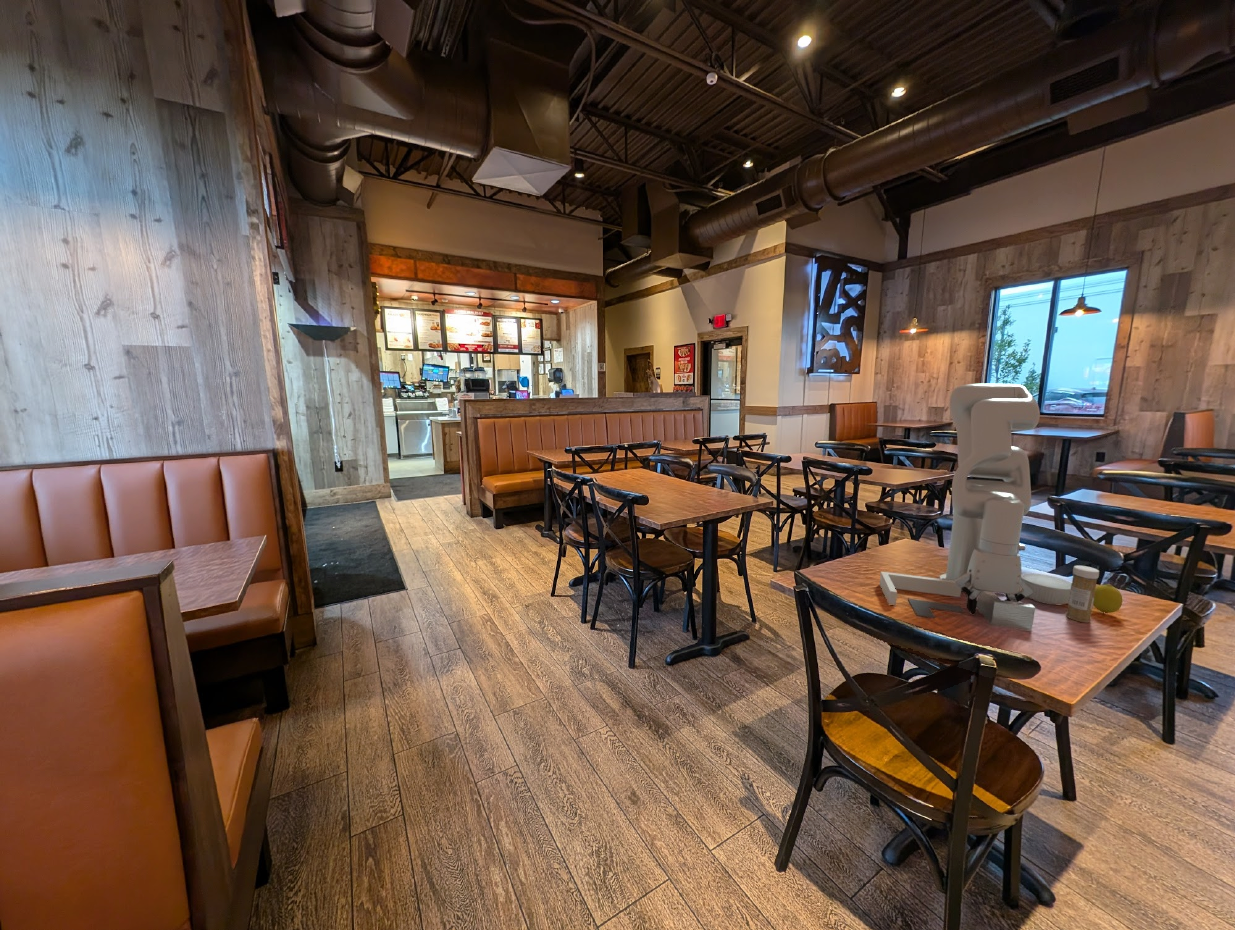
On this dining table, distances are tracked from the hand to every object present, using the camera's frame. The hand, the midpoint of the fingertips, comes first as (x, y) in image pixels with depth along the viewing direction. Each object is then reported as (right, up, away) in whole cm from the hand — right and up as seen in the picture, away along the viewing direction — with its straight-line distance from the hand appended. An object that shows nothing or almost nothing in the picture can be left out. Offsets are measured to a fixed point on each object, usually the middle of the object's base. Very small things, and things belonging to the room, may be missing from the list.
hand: (988, 614), depth 119 cm
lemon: (+32, -1, +2) cm, 32 cm away
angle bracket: (+3, -1, -1) cm, 3 cm away
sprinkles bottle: (+22, -1, 0) cm, 22 cm away
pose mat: (-11, 0, +3) cm, 11 cm away
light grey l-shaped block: (-10, +1, +9) cm, 14 cm away
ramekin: (+24, +1, +11) cm, 27 cm away
